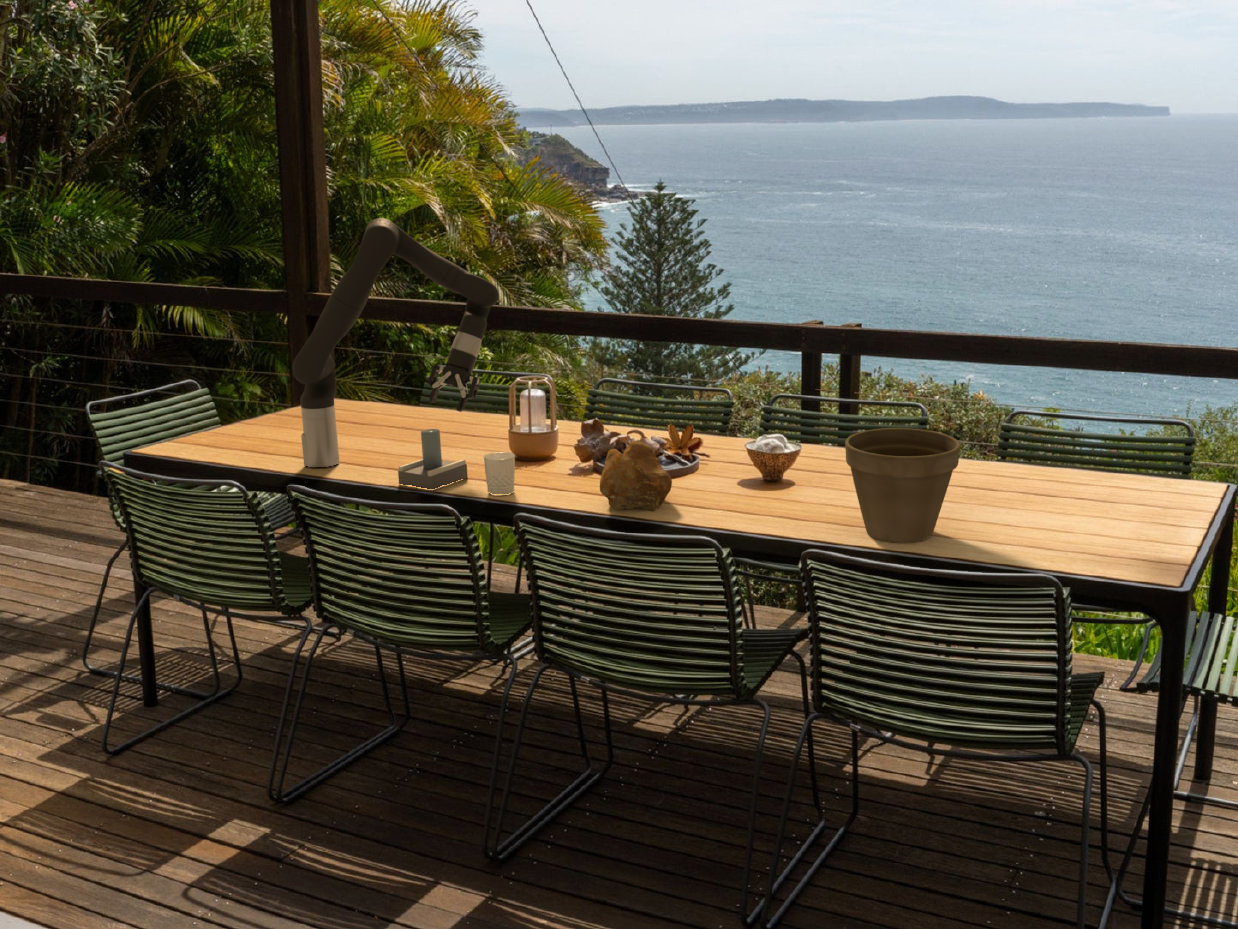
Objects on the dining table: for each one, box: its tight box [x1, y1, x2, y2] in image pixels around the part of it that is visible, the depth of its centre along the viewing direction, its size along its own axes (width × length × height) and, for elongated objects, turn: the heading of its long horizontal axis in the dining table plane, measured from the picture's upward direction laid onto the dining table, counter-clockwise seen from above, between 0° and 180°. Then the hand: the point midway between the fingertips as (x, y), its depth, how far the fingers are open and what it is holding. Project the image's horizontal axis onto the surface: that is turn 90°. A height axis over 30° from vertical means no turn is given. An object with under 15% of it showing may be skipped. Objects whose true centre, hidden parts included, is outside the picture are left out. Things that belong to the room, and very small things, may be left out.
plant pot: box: [845, 427, 961, 544], centre depth 267 cm, size 25×25×22 cm
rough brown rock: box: [599, 440, 673, 512], centre depth 295 cm, size 23×17×15 cm
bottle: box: [420, 428, 443, 470], centre depth 319 cm, size 5×5×10 cm
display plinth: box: [397, 458, 468, 489], centre depth 321 cm, size 14×12×5 cm
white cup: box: [483, 451, 516, 494], centre depth 308 cm, size 8×8×10 cm
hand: (445, 406), depth 329 cm, fingers open, 8 cm apart
